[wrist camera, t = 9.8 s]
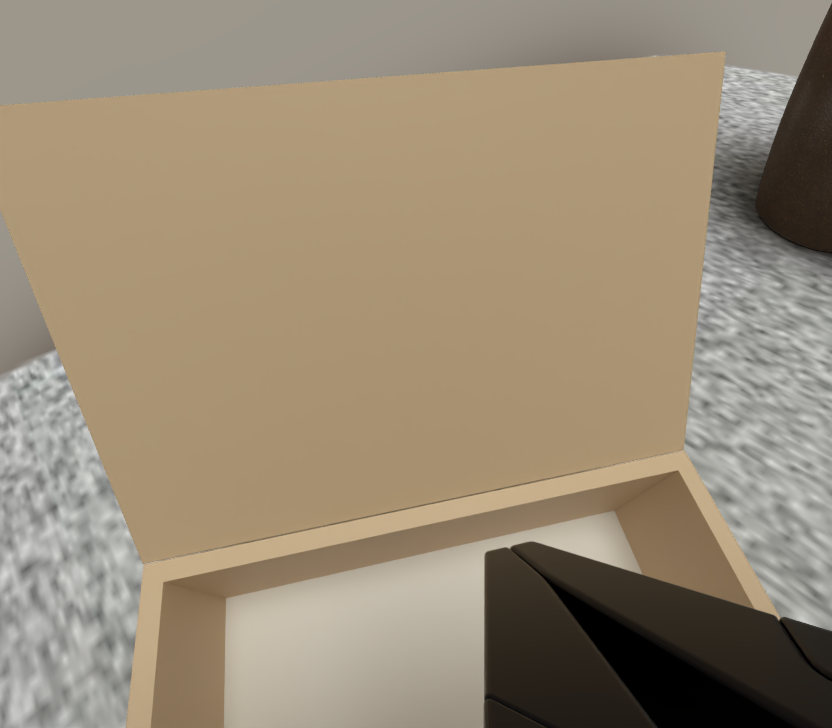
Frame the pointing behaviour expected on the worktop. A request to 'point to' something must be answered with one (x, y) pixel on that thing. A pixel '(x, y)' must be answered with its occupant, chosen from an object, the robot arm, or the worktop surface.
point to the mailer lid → (368, 284)
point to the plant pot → (803, 155)
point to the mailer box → (401, 601)
